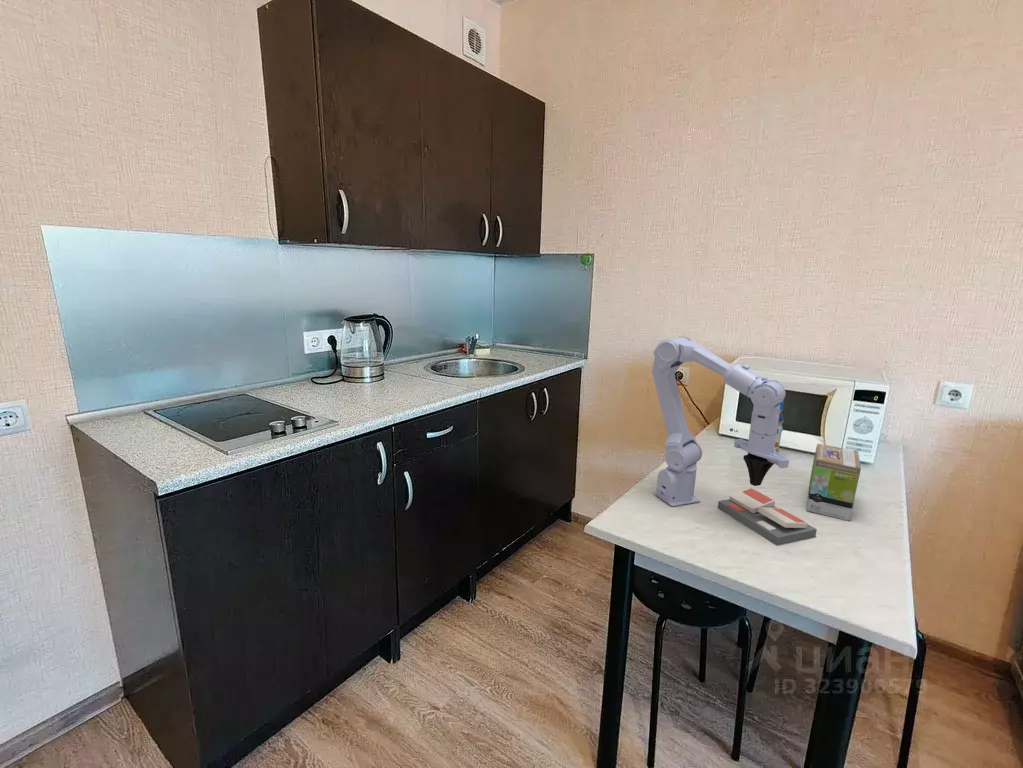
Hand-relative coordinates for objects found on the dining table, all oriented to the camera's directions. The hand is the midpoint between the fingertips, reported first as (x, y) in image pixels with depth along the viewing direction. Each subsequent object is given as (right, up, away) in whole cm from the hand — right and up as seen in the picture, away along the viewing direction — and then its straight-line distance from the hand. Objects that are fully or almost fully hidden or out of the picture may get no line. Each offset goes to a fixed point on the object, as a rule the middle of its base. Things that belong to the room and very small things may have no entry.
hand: (755, 484), depth 122 cm
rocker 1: (+3, -6, +7) cm, 9 cm away
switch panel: (+4, -10, +3) cm, 11 cm away
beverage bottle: (+26, 0, +47) cm, 54 cm away
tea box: (+26, -8, +13) cm, 30 cm away
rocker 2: (+6, -8, -1) cm, 10 cm away
